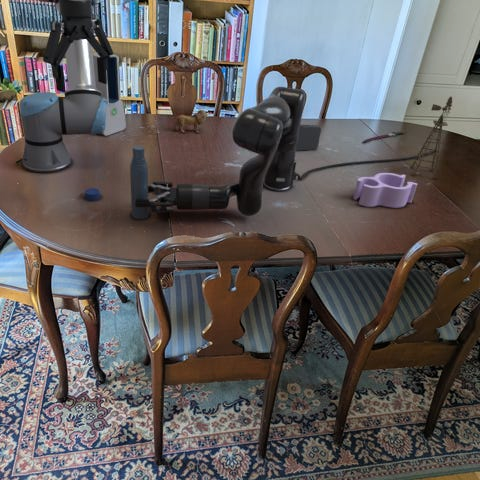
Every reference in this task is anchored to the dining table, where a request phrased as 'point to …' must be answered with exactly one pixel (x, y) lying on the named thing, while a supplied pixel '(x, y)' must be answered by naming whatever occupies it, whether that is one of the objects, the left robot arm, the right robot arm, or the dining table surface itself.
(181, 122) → the lion figurine
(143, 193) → the bottle
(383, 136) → the sword
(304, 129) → the handheld gaming console
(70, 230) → the dining table surface
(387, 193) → the clip
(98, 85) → the electronic device
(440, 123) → the miniature windmill
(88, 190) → the cap
